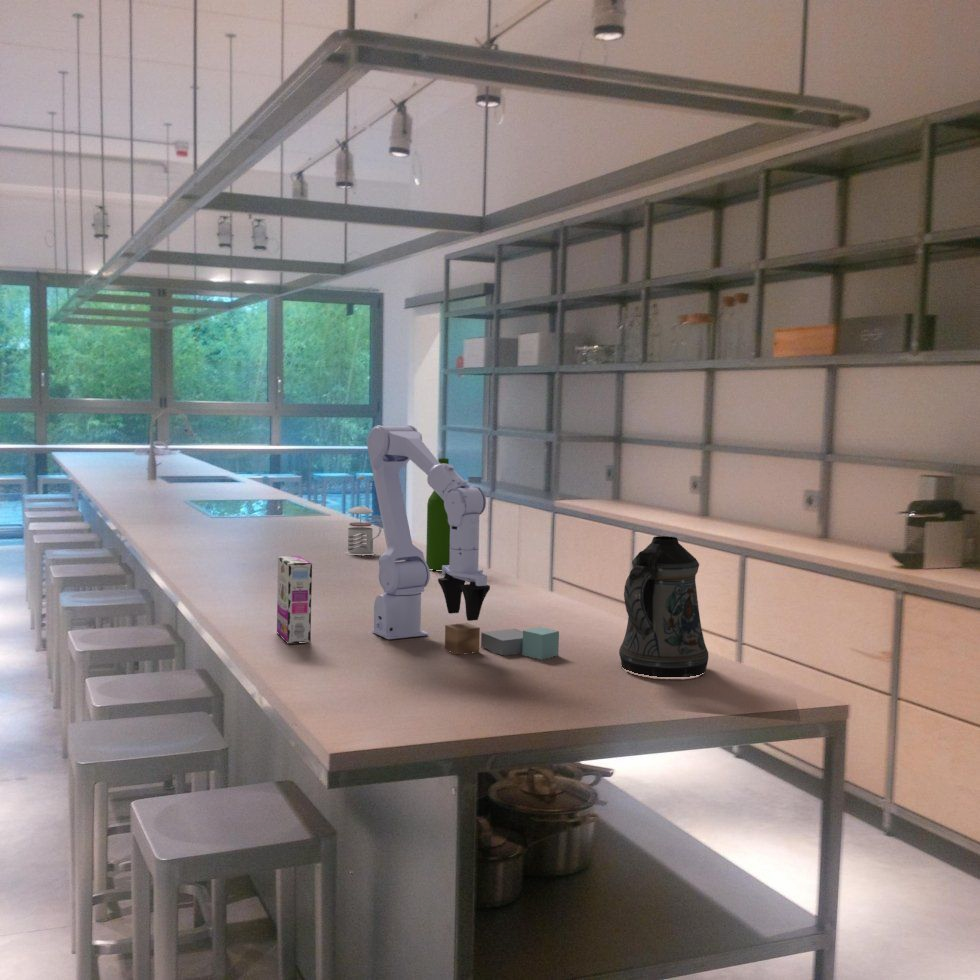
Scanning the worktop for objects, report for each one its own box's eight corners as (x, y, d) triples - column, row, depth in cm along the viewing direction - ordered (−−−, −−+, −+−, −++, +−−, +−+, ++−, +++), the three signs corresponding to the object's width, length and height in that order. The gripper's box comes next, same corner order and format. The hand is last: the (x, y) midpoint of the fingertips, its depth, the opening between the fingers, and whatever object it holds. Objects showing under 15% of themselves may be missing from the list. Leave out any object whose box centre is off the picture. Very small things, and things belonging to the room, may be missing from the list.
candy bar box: (312, 643, 209) (313, 562, 208) (287, 645, 207) (288, 563, 206) (299, 631, 219) (300, 554, 218) (276, 633, 217) (276, 555, 216)
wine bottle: (462, 570, 304) (464, 459, 302) (436, 572, 299) (438, 459, 297) (446, 565, 312) (448, 457, 309) (420, 568, 307) (422, 457, 304)
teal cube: (541, 660, 200) (542, 634, 200) (522, 655, 204) (522, 630, 203) (558, 656, 204) (559, 631, 203) (539, 651, 207) (539, 627, 207)
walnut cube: (457, 655, 203) (457, 630, 202) (444, 649, 207) (445, 625, 206) (479, 652, 205) (479, 627, 205) (466, 647, 209) (467, 622, 209)
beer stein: (708, 662, 201) (714, 534, 199) (706, 688, 183) (712, 547, 180) (623, 655, 205) (627, 530, 203) (612, 680, 186) (617, 542, 184)
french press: (349, 551, 337) (350, 474, 335) (384, 552, 336) (385, 475, 333) (340, 555, 327) (341, 476, 325) (376, 557, 326) (378, 477, 324)
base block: (501, 655, 203) (502, 640, 202) (481, 646, 209) (481, 632, 209) (536, 651, 207) (536, 636, 207) (514, 643, 214) (514, 628, 213)
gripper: (500, 551, 200) (499, 621, 201) (463, 542, 213) (462, 608, 214) (469, 554, 197) (467, 624, 198) (433, 544, 209) (432, 611, 210)
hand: (462, 616), depth 205 cm, fingers open, 7 cm apart
